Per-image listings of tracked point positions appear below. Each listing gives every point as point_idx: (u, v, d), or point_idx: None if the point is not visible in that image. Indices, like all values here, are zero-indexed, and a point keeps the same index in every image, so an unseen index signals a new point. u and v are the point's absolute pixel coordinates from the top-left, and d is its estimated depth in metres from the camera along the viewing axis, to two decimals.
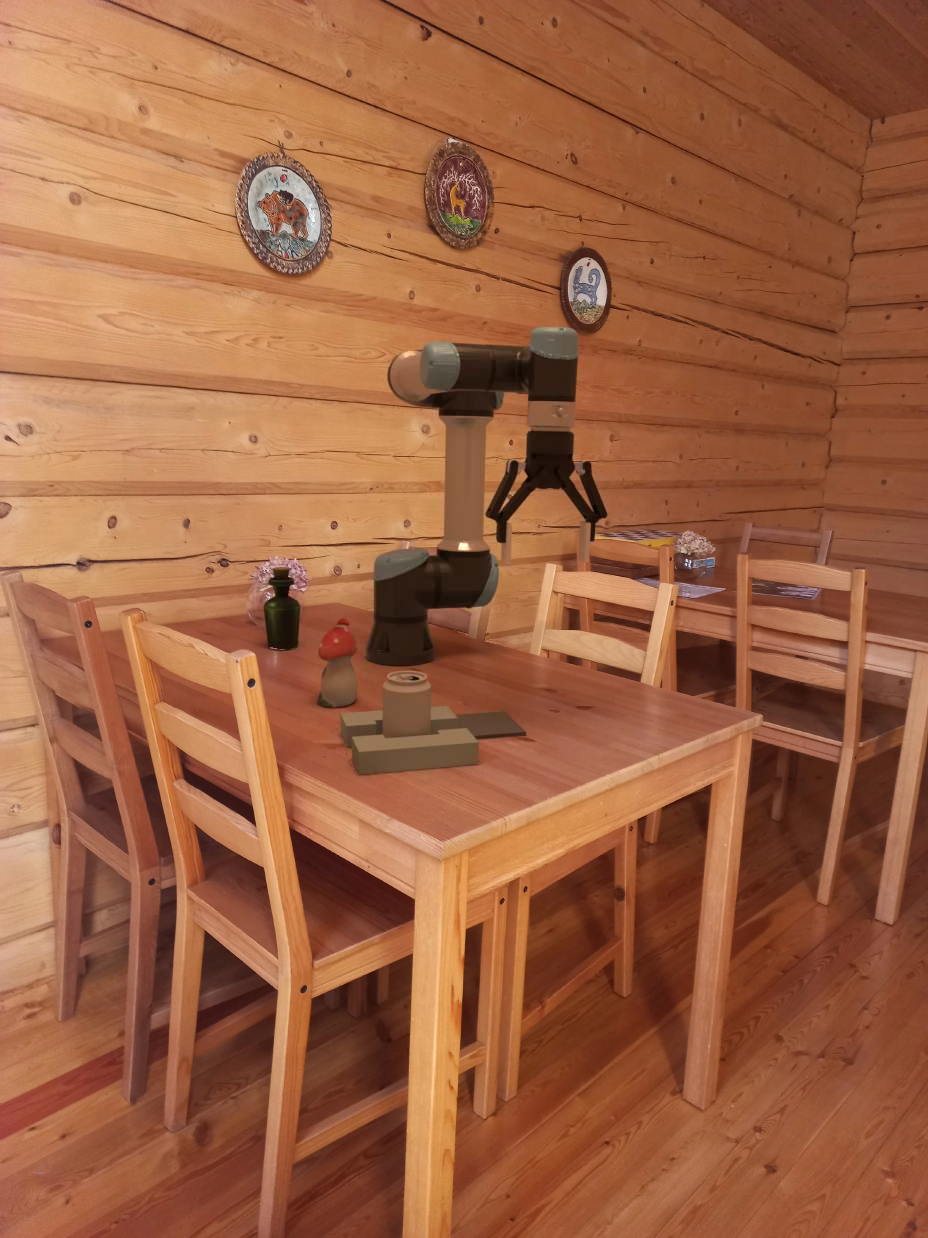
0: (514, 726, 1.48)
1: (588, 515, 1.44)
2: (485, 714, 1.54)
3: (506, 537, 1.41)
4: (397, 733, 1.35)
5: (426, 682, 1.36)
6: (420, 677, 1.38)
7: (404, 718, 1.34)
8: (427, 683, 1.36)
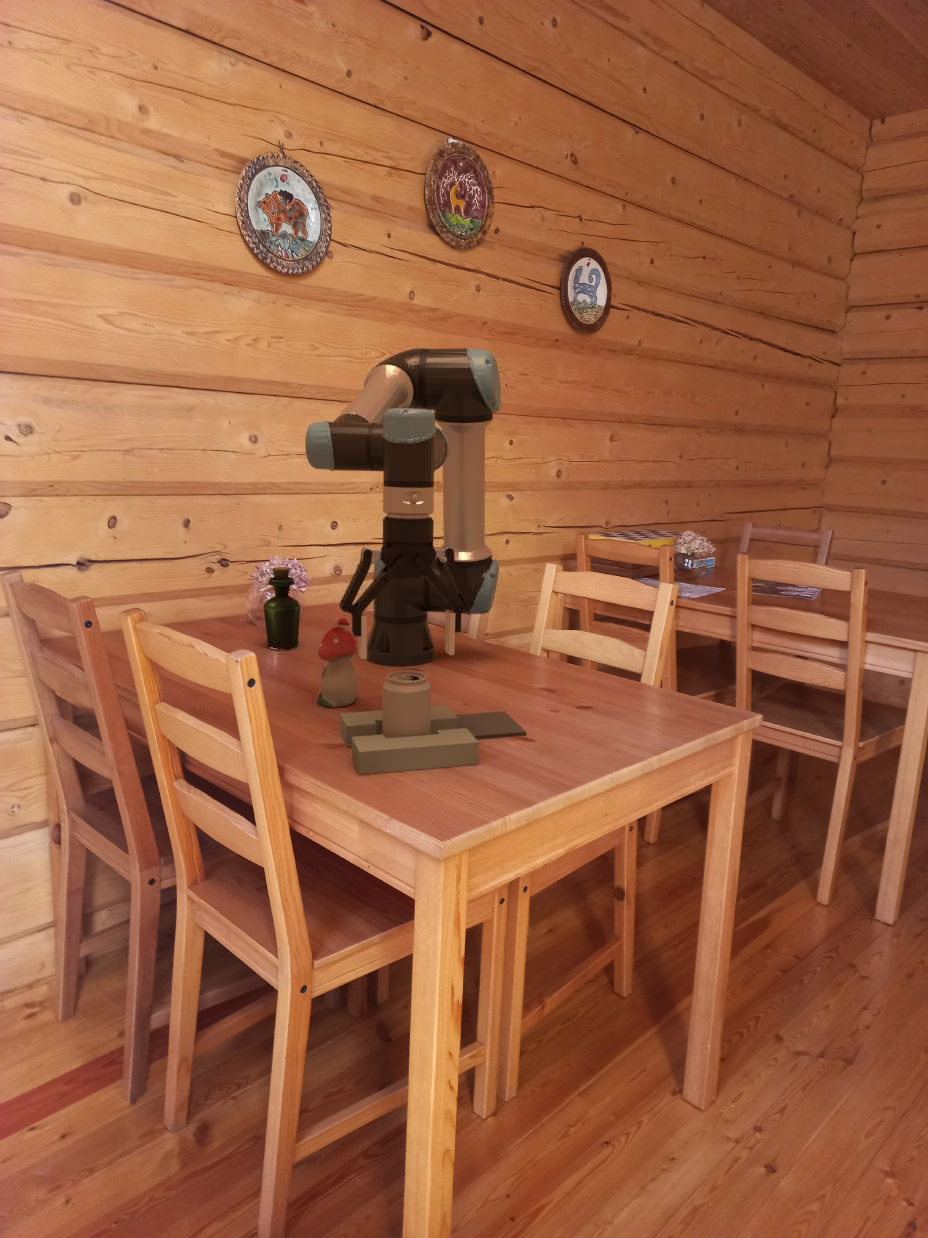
0: (514, 726, 1.48)
1: (452, 605, 1.35)
2: (485, 714, 1.54)
3: (361, 630, 1.32)
4: (397, 733, 1.35)
5: (426, 682, 1.36)
6: (420, 677, 1.38)
7: (404, 718, 1.34)
8: (427, 683, 1.36)
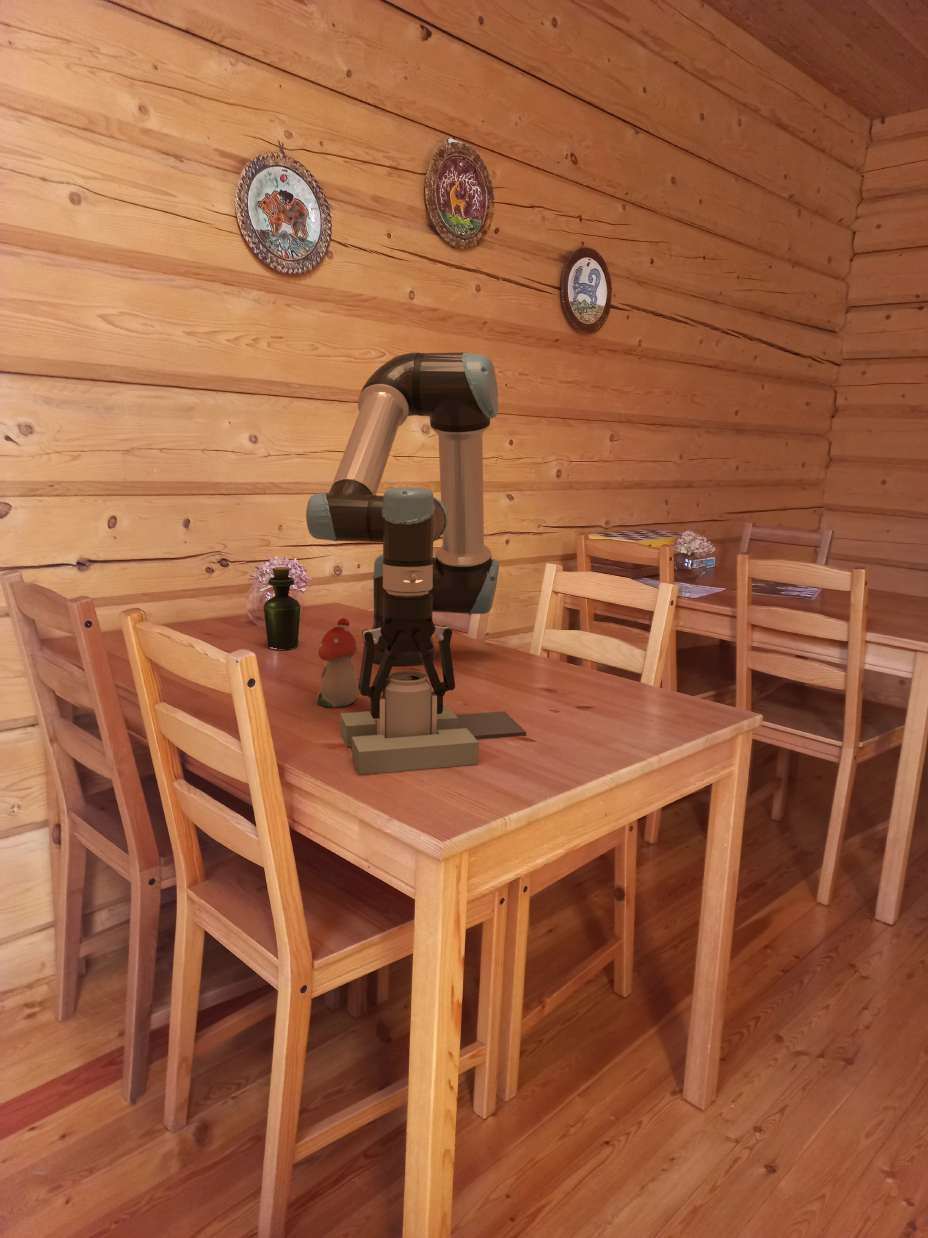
0: (514, 726, 1.48)
1: (435, 686, 1.37)
2: (485, 714, 1.54)
3: (379, 713, 1.35)
4: (397, 733, 1.35)
5: (426, 682, 1.36)
6: (420, 677, 1.37)
7: (404, 718, 1.34)
8: (427, 683, 1.36)
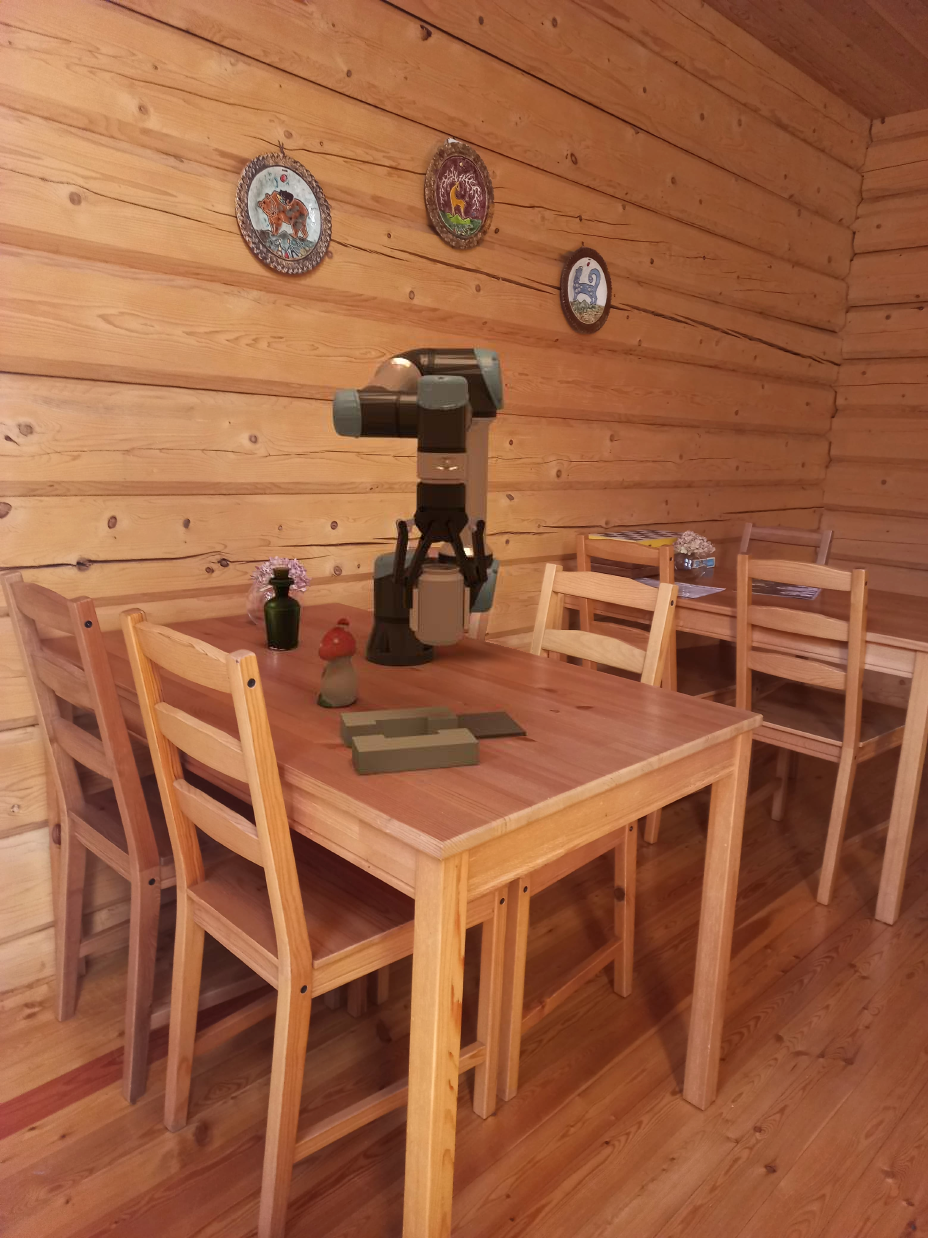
0: (514, 726, 1.48)
1: (468, 578, 1.38)
2: (485, 714, 1.54)
3: (413, 603, 1.36)
4: (430, 623, 1.36)
5: (459, 573, 1.37)
6: (453, 569, 1.38)
7: (436, 607, 1.35)
8: (460, 574, 1.37)
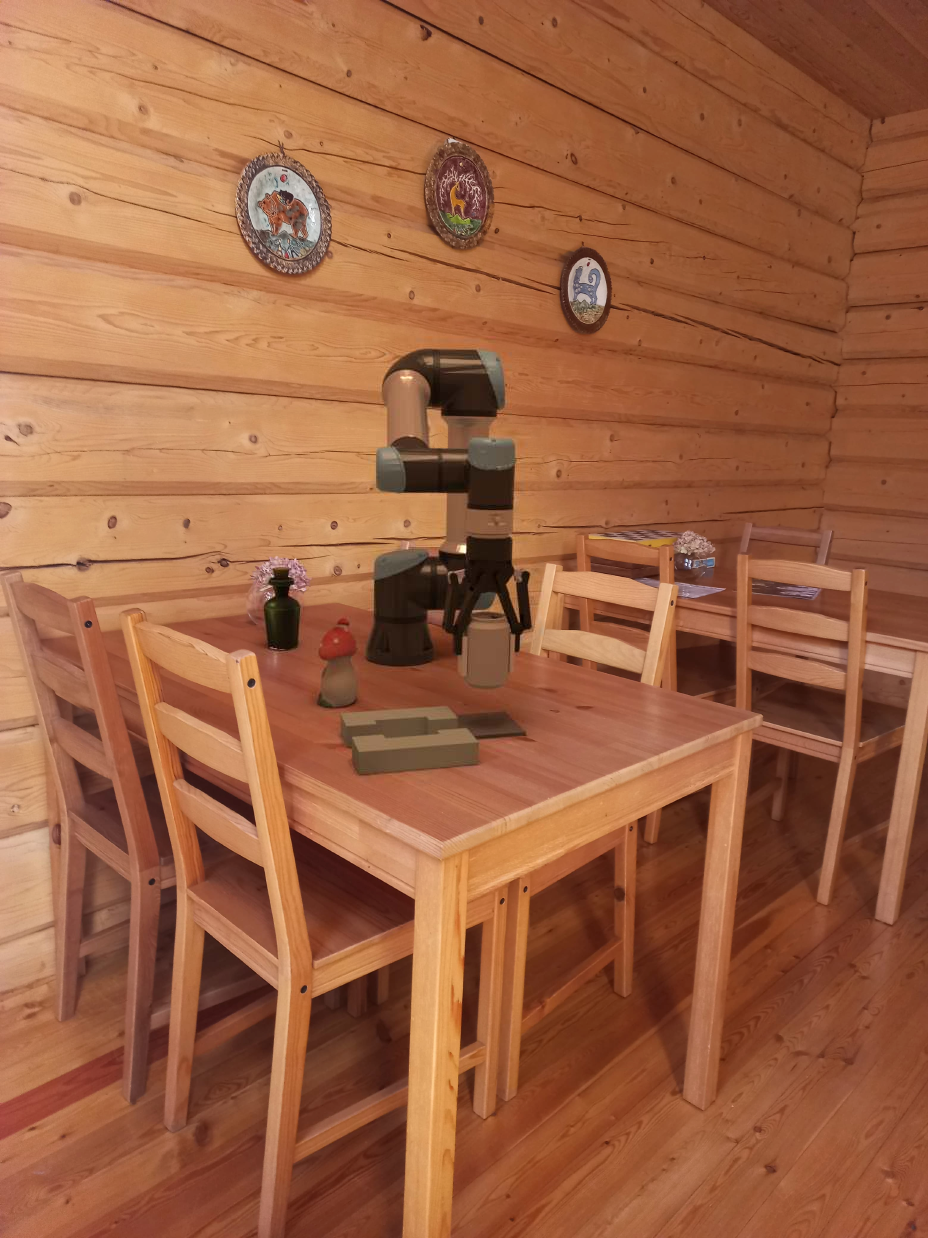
0: (514, 726, 1.48)
1: (513, 625, 1.46)
2: (485, 714, 1.54)
3: (462, 650, 1.44)
4: (479, 668, 1.44)
5: (505, 621, 1.45)
6: (499, 617, 1.47)
7: (486, 653, 1.43)
8: (506, 622, 1.45)
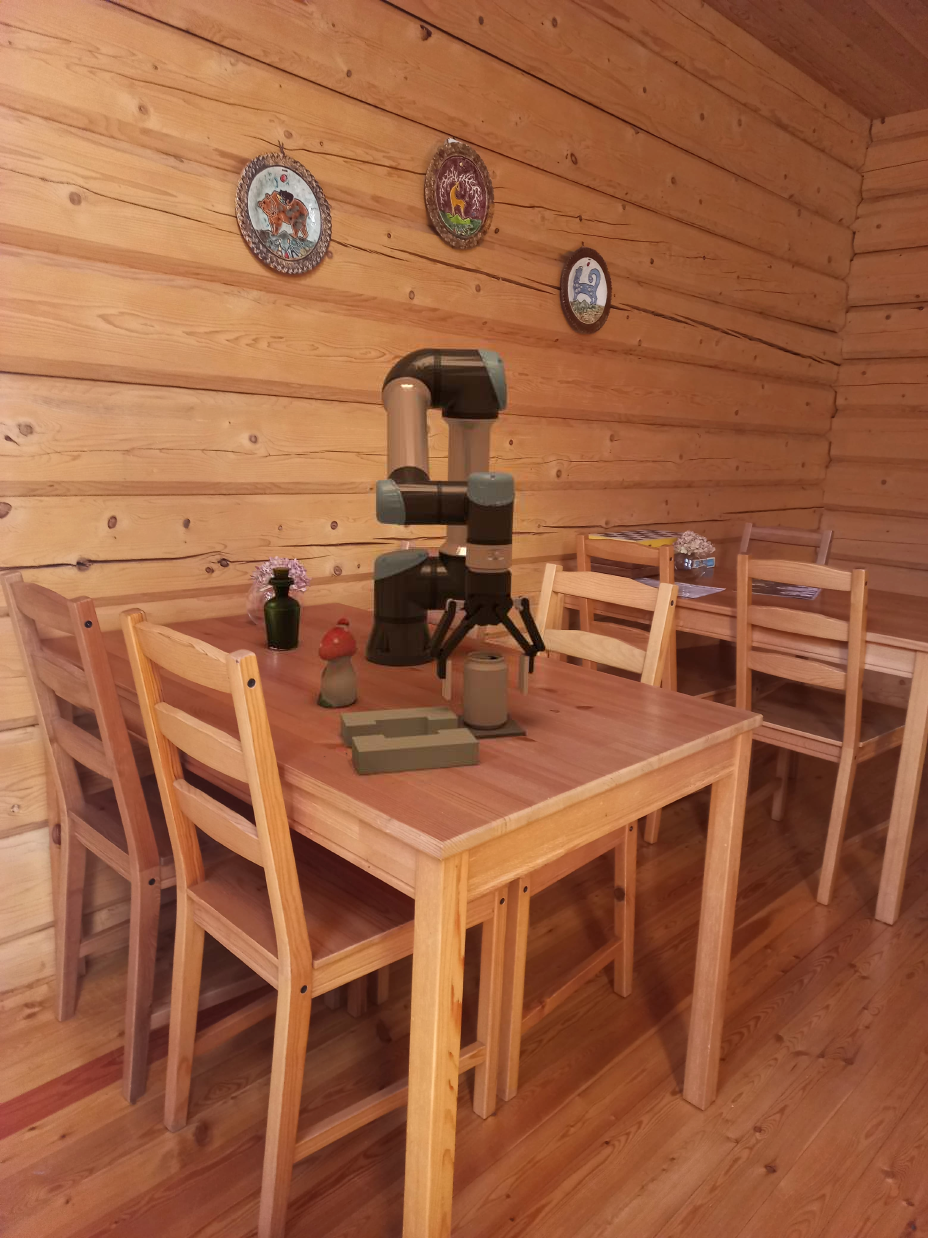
0: (514, 726, 1.48)
1: (526, 649, 1.48)
2: None
3: (446, 674, 1.45)
4: (477, 709, 1.45)
5: (504, 661, 1.47)
6: (498, 657, 1.48)
7: (484, 694, 1.45)
8: (505, 662, 1.47)
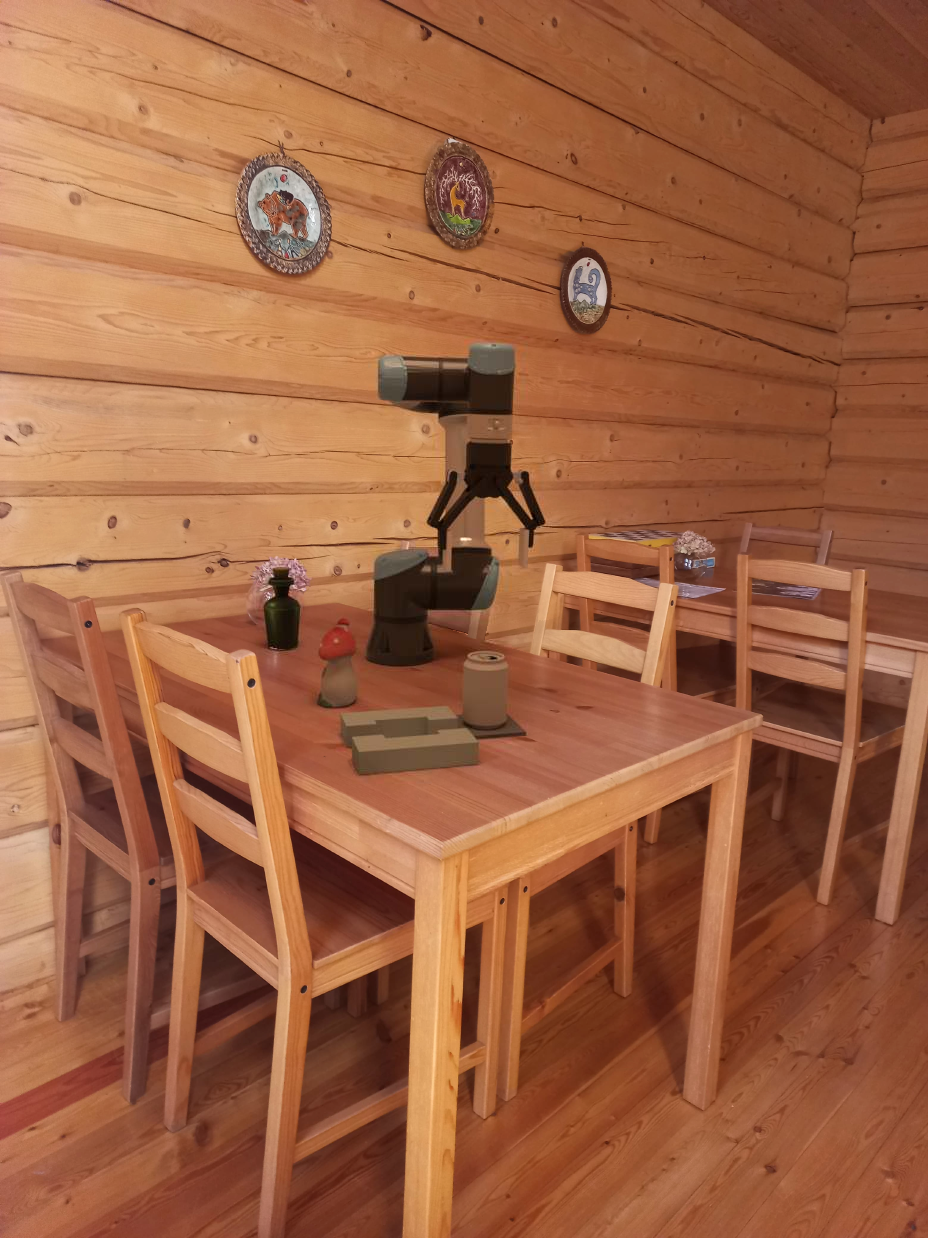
0: (514, 726, 1.48)
1: (526, 522, 1.50)
2: None
3: (446, 544, 1.47)
4: (477, 709, 1.45)
5: (504, 661, 1.47)
6: (498, 657, 1.48)
7: (484, 694, 1.45)
8: (505, 662, 1.47)
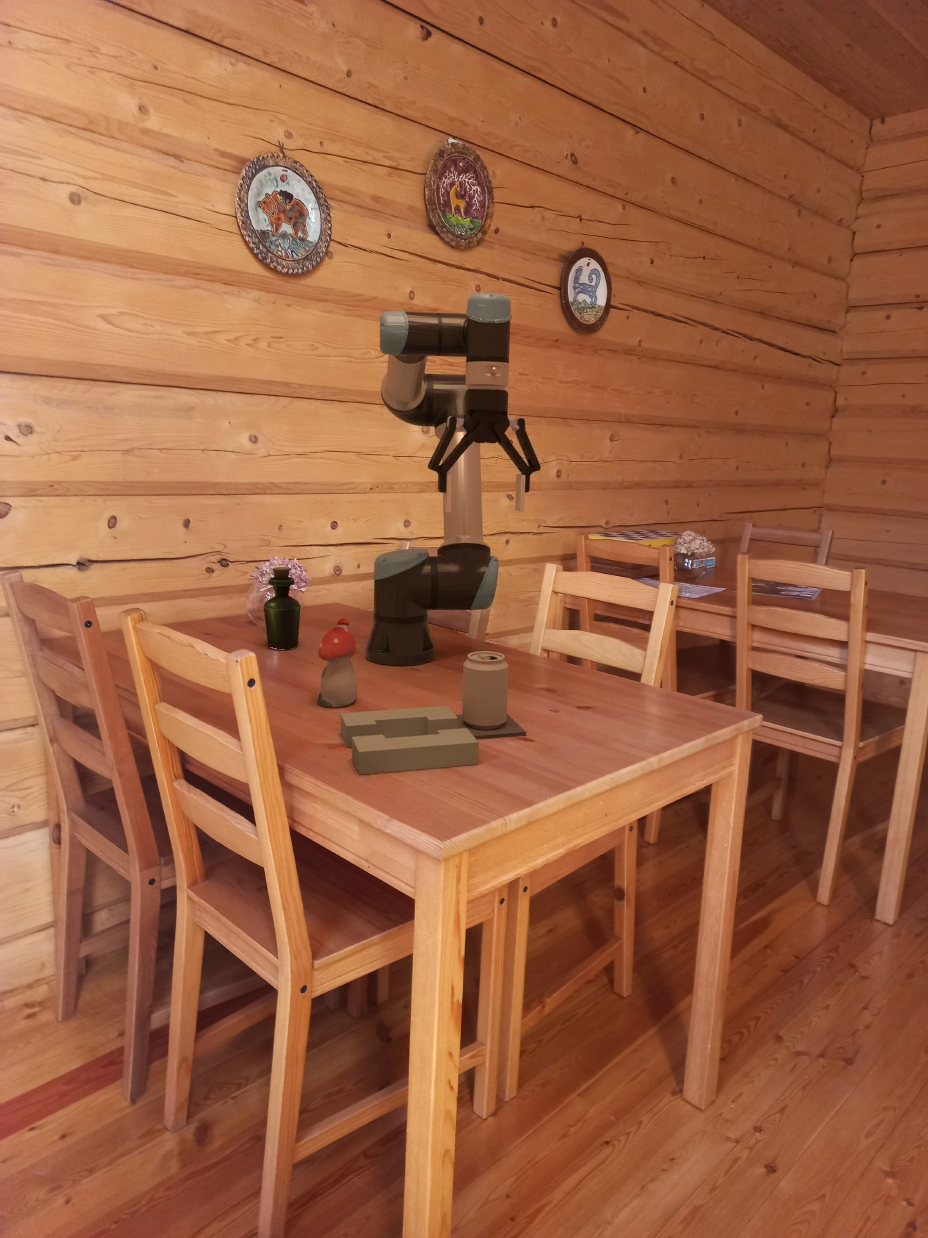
0: (514, 726, 1.48)
1: (523, 468, 1.58)
2: None
3: (446, 487, 1.55)
4: (477, 709, 1.45)
5: (504, 661, 1.47)
6: (498, 657, 1.48)
7: (484, 694, 1.45)
8: (505, 662, 1.47)
